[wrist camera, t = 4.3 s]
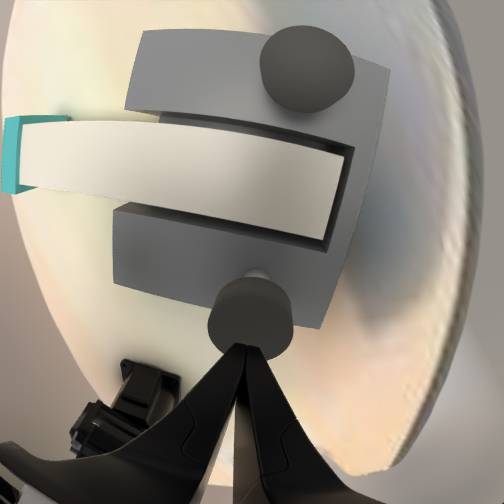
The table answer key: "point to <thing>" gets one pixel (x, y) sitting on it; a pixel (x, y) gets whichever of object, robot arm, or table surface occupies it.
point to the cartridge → (175, 169)
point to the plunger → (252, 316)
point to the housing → (252, 123)
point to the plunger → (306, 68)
